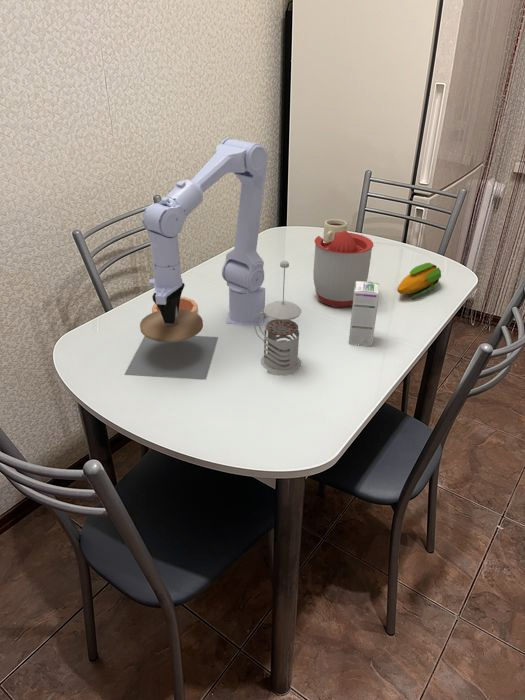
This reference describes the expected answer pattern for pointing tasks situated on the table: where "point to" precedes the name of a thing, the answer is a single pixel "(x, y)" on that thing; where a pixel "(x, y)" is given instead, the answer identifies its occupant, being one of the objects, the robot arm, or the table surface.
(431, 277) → the corn
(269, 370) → the french press
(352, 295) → the citrus juicer
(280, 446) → the table surface
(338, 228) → the character mug
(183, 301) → the bowl
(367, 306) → the syrup box
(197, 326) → the lid
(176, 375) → the mat
